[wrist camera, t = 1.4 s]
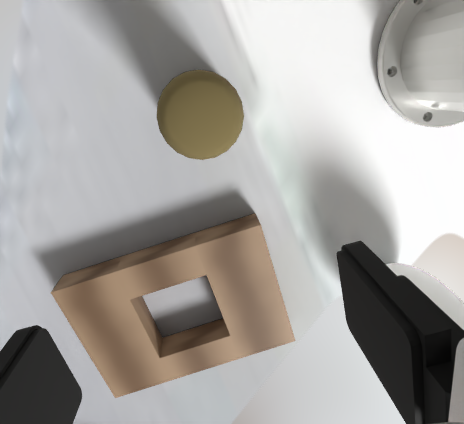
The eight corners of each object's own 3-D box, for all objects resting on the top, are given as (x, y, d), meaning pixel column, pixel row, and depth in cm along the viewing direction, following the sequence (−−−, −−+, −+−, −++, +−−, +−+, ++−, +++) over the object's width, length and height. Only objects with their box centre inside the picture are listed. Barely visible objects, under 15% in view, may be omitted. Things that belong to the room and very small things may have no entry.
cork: (193, 156, 30) (192, 191, 20) (149, 100, 28) (122, 107, 18) (247, 115, 29) (275, 129, 19) (205, 54, 27) (211, 33, 17)
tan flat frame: (255, 213, 33) (260, 224, 30) (287, 322, 38) (295, 340, 35) (63, 275, 33) (50, 292, 30) (121, 375, 38) (115, 398, 35)
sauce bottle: (422, 283, 38) (602, 439, 21) (362, 319, 39) (489, 495, 22) (395, 233, 35) (577, 365, 18) (332, 272, 36) (450, 432, 19)
